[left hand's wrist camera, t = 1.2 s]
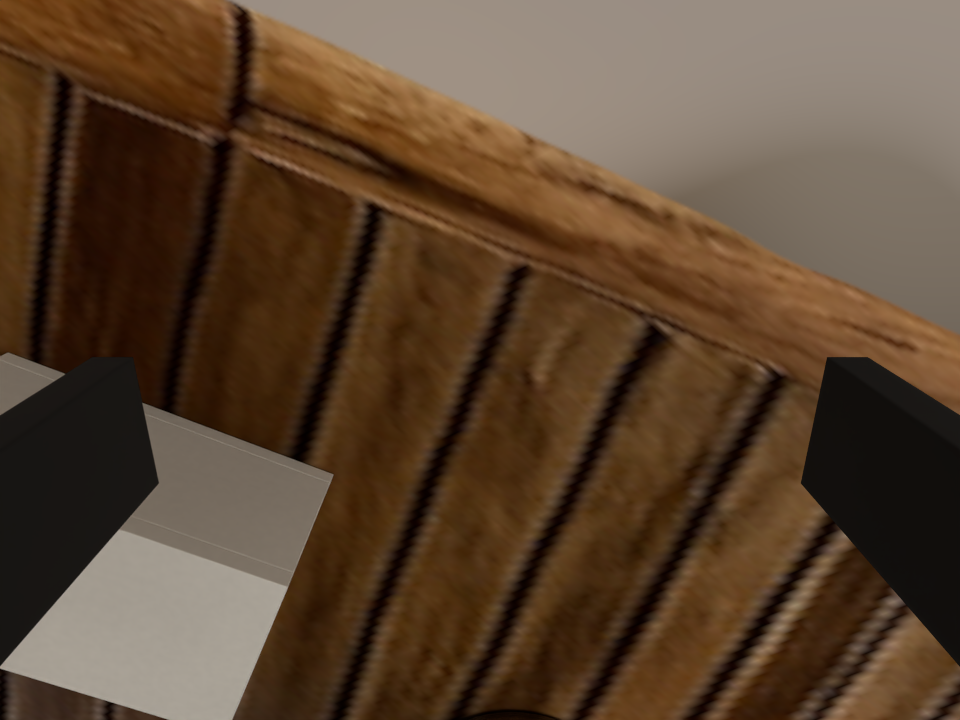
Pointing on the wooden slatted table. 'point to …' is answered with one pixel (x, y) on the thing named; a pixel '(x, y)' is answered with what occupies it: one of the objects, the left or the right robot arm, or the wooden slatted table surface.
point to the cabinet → (177, 572)
